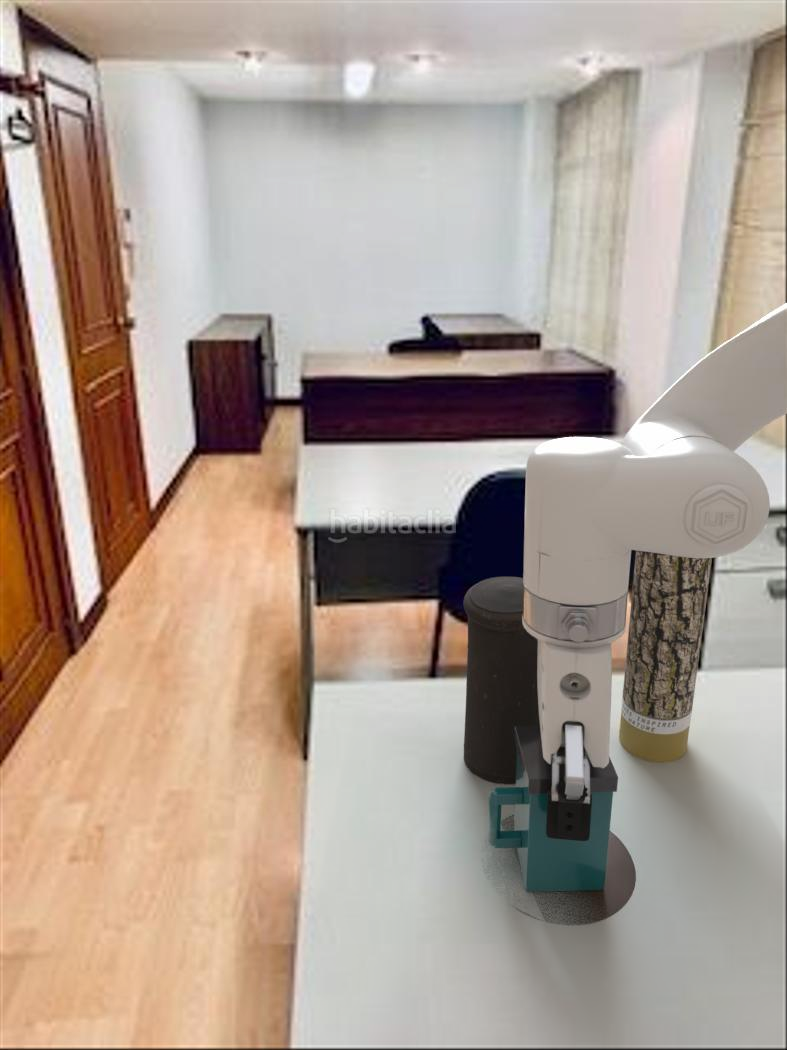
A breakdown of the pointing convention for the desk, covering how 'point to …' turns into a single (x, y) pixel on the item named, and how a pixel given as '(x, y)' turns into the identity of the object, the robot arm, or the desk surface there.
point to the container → (498, 678)
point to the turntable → (625, 865)
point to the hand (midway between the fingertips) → (564, 793)
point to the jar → (538, 854)
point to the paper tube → (662, 654)
